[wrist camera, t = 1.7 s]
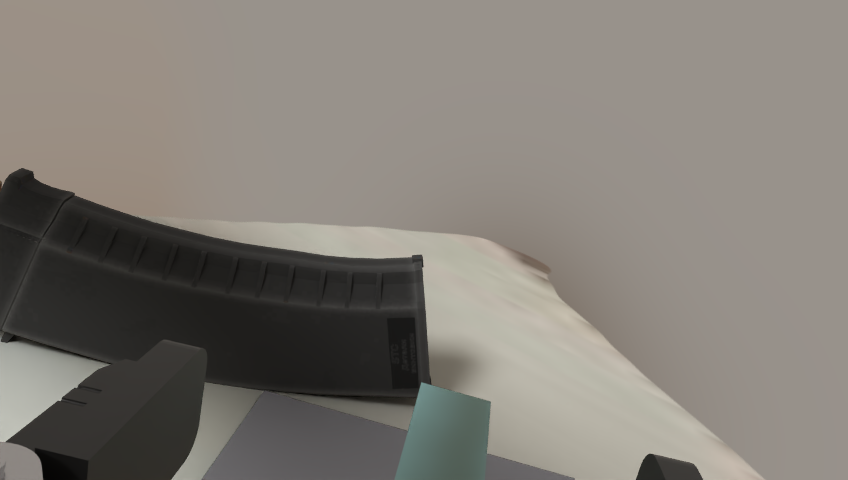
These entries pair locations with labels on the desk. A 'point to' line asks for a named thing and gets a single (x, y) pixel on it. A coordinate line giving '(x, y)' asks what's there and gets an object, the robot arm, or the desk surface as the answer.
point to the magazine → (207, 299)
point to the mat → (326, 447)
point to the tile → (445, 437)
